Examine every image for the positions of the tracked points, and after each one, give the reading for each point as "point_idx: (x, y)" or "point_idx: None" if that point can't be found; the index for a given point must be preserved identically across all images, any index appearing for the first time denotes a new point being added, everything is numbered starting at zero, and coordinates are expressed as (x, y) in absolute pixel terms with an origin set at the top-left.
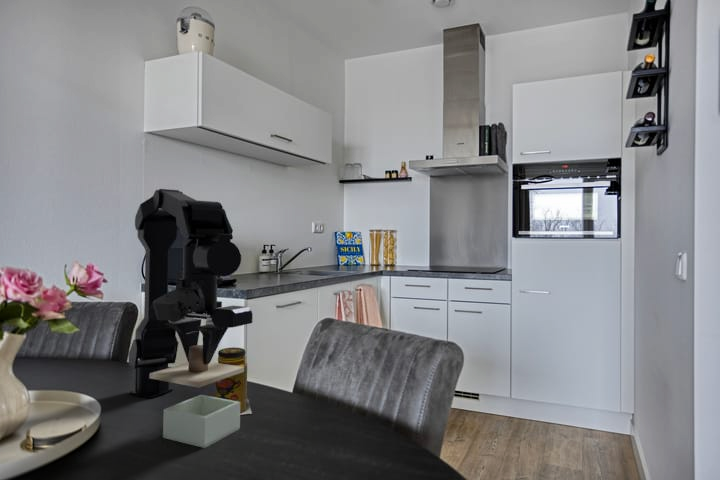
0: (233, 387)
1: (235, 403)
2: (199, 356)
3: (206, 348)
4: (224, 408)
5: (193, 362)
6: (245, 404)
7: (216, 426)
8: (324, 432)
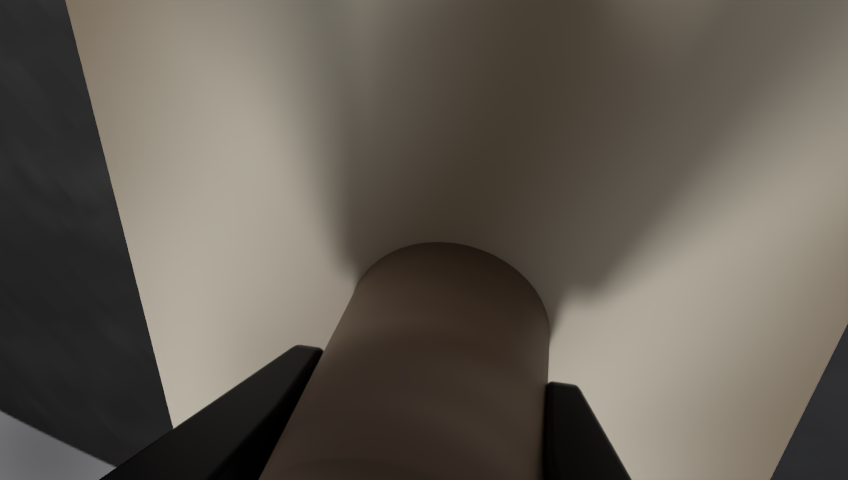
0: None
1: None
2: (308, 386)
3: (124, 476)
4: None
5: (398, 309)
6: None
7: None
8: (64, 307)
